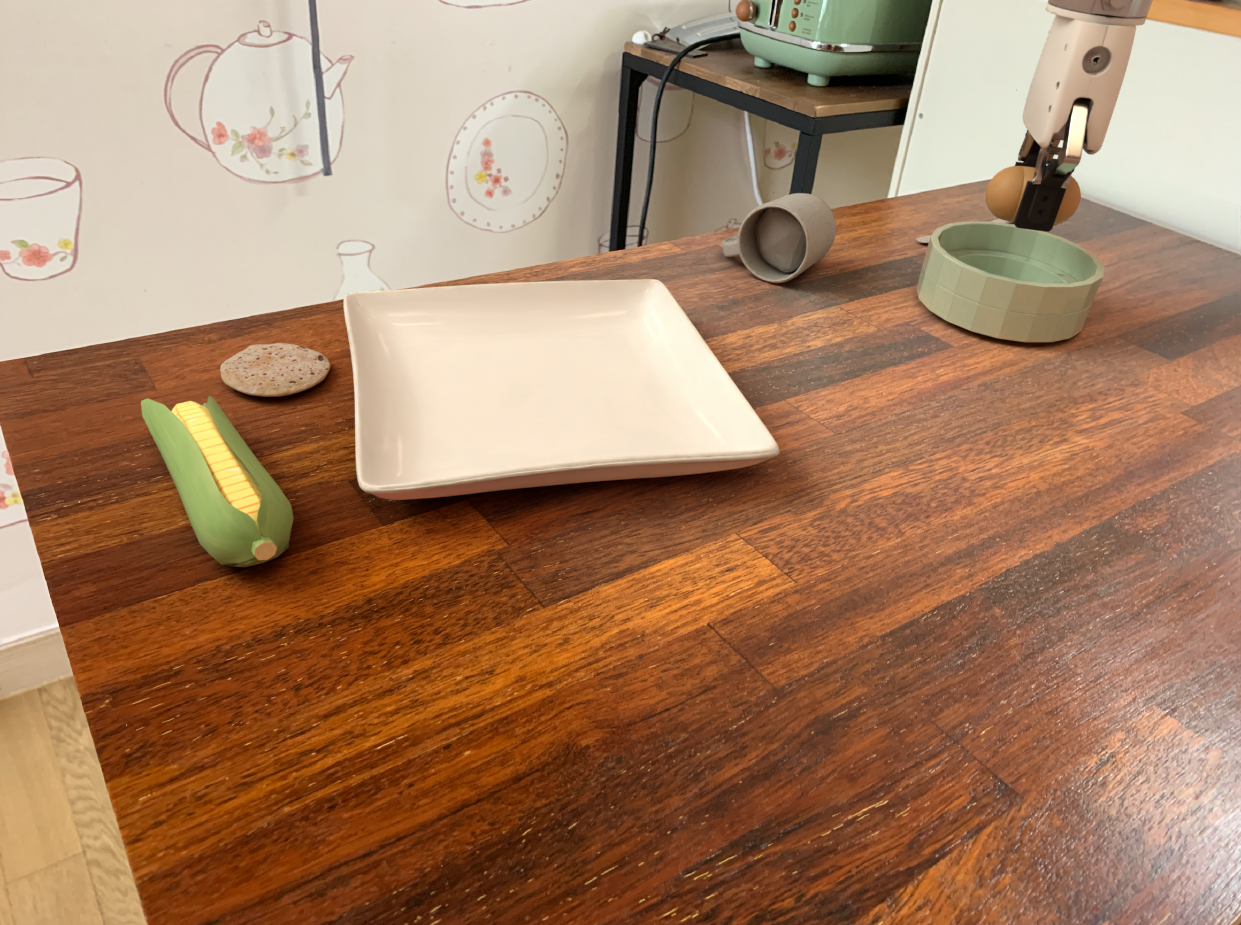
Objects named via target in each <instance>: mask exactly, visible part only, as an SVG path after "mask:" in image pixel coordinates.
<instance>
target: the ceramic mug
mask: <svg viewBox="0 0 1241 925" xmlns="http://www.w3.org/2000/svg"><path fill="white" fill-rule="evenodd" d="M737 232H738V233H737V234H735V235H732V236H730V237H727V238H725V239H724V240H722V241H721V248H722V252H723V255H724V257H726V258H733V257H740V260H741V261H742V263H743V265H744V266H745V268H746V269H747V270H748V271H749V273H751V274H752V275H753V276H754V277H756V278H757V279H760V280H761V281H763V282H767V283H772V284H782V283H786V282H789V281H791V280H793V279H795V278H796V277H798V276H799V275H800V274H802V273H803V272H805V271H806V270H808V269H809V268H810V267H811V266H813V265H814V264H816V263H817V262H819V261H820V260H822V259H823V258H824V257H825V256H826V255H827V254H828V253H829V251H830V249H831V248H832V246H833V244H834V242H835V239H836V234H837V223H836V218H835V216H834V213H833V210H832V209H831V207H830V206H829V205H828V204H827V202H826V201H824V200H823V199H822V198H821V197H818V196H816V195H814V194H810V193H804V192H797V193H791V194H787V195H784V196H782V197H780V198H777V199H774V200H771V201H769V202H765V203H762V204H760V205H759V206H756V207H755V208H753V209H752V210H751V211H749V212H748V213H747V214H746V216H745V217H744V219H743V220H742V222H741V223H740V225H739V228H738V231H737Z"/></svg>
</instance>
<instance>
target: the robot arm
mask: <svg viewBox="0 0 1241 925" xmlns="http://www.w3.org/2000/svg"><path fill="white" fill-rule="evenodd" d="M1153 2H1154V1H1153V0H1048V1H1047V3H1046V7H1045V11H1046V12H1048V13H1050V14H1053V15H1054V18H1053V20H1052V23H1051V25H1050V28H1049V30H1048V32H1047V36H1046V39H1045V42H1044V44H1043V48H1042V50H1041V53H1040V56H1039V58H1038V62H1037V64H1036V67H1035V70H1034V73H1033V76H1032V79H1031V82H1030V85H1029V89H1028V92H1027V95H1026V98H1025V103H1024V107H1023V112H1022V123H1023V124H1024V127H1025V128H1026V132H1025V134H1024V139H1023V141H1022V144H1021V145H1020V147H1019V148H1020V149H1019V151H1018V155H1017V161H1015V164H1014V166H1026V167H1034V168H1035V171H1034V175H1033V179H1032V181H1027V184H1026V187H1025V190H1024V193H1023V196H1022V199H1021V202H1020V205H1019V208H1018V211H1017V214H1016V217H1015V220H1014V222H1013V224H1014V225H1015V226H1016V227H1017V228H1022V229H1029V230H1037V231H1044V232H1047V233H1050V232H1051V231H1052V230H1053V228H1054V226H1055V225H1054V222H1055V219H1056V217H1057V214H1058V211H1059V208H1060V206H1061V203H1062V200H1063V197H1064V194H1065V192H1066V189H1067V187H1068V185H1069V182H1070V179H1071V176H1073V175H1072V174H1073V173H1074V172H1075V169H1076V167H1078V166H1079V165H1080V163H1081V160H1082V156H1083V151H1084V152H1085V153H1086V154H1087V155H1089V156H1090V155H1091V156H1093V155H1095V154H1097V153H1098V152H1099V151H1100V150H1101V149H1102V147H1103V145H1104V141H1105V138H1106V136H1107V132H1108V129H1109V127H1110V123H1111V120H1112V117H1113V114H1114V111H1115V108H1116V105H1117V101H1118V98H1119V95H1120V91H1121V89H1122V86H1123V83H1124V79H1125V75H1126V72H1127V68H1128V65H1129V61H1130V57H1131V54H1132V51H1133V45H1134V41H1135V36H1136V30H1137V27H1138V26H1143V25H1144V24H1145V23H1146V20H1147V18H1148V15H1149V12H1150V9H1151V6H1152V3H1153ZM1061 141H1062V147H1060V146H1059V145H1060V144H1061ZM1055 156H1057V158H1054V157H1055ZM1053 225H1054V226H1053Z"/></svg>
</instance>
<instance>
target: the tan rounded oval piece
mask: <svg viewBox="0 0 1241 925" xmlns="http://www.w3.org/2000/svg"><path fill="white" fill-rule="evenodd" d="M1034 171H1035V168H1034V167H1026V166H1015V165H1013V166H1008V167H1005V168H1003V169H1001V170H1000V171H998V172H997V173H996V174H995V175H993V177H992V178H991V179H990V181H989V183H988V185H987V187H986V190H985V202H986V203H985V204H986V206H987V208H988V210H989V212H990V213H991V214H992V215H993V216H994V217H996V219H1001V220H1005V221H1011V223H1014V220H1015V217H1016V214H1017V211H1018V208H1019V205H1020V202H1021V199H1022V196H1023V193H1024V190H1025V187H1026V184H1027V181H1032V179H1033V175H1034ZM1081 200H1082V192H1081V188H1080V185H1079V183H1078V181H1077V180H1076V179H1075V178H1074V177H1073V175H1071V179H1070V182H1069V185H1068V187H1067V189H1066V192H1065V194H1064V197H1063V200H1062V203H1061V206H1060V208H1059V211H1058V214H1057V217H1056V219H1055V222H1054V225H1053V227H1054V226H1057V225H1061V224H1063V223H1065V222H1066V221H1068V220H1069V219H1070V218H1071V217H1073V216H1074V214H1075V213H1076V212H1077V210H1078V208H1079V206H1080V203H1081Z"/></svg>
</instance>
